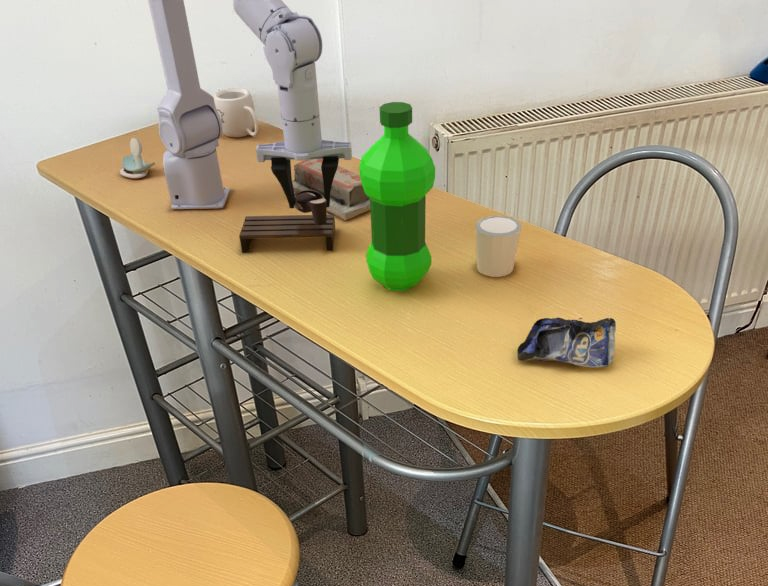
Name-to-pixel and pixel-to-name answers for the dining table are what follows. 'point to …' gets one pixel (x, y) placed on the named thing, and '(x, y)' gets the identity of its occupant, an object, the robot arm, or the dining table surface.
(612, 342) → the snack package
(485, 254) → the shot glass
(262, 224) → the slatted bench
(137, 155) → the pacifier
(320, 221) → the heeled mule
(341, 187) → the packaged product
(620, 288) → the dining table surface
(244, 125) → the mug
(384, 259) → the plastic bottle
